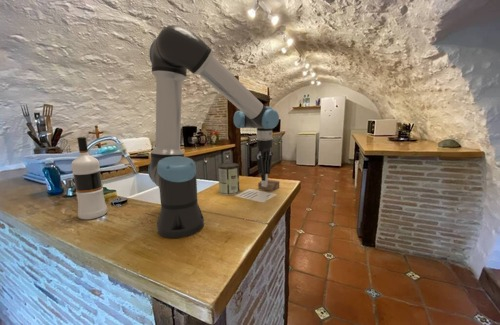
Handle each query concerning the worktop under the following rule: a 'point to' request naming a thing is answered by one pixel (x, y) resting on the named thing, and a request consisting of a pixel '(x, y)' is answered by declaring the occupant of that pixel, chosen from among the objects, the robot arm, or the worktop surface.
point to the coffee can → (228, 178)
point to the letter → (256, 195)
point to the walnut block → (269, 185)
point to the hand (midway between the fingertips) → (264, 186)
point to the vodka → (88, 184)
